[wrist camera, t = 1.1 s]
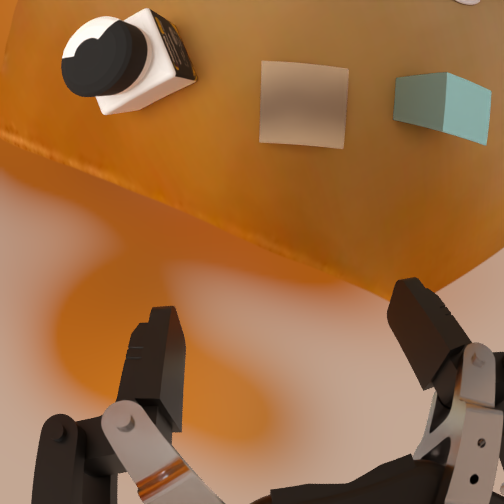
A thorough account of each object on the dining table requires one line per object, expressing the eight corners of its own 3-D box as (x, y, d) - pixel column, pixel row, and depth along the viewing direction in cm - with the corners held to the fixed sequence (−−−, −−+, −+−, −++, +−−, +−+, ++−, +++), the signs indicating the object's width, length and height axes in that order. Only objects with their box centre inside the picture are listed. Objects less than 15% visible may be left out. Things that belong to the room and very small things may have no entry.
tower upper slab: (264, 67, 20) (261, 60, 17) (337, 73, 20) (348, 68, 17) (262, 136, 23) (259, 142, 20) (333, 141, 23) (343, 149, 19)
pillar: (396, 77, 22) (446, 72, 14) (433, 88, 22) (491, 91, 13) (392, 119, 25) (442, 131, 16) (429, 128, 24) (486, 145, 16)
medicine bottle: (199, 81, 25) (149, 70, 14) (138, 111, 26) (66, 124, 16) (175, 23, 22) (117, -12, 11) (116, 56, 23) (41, 47, 13)
